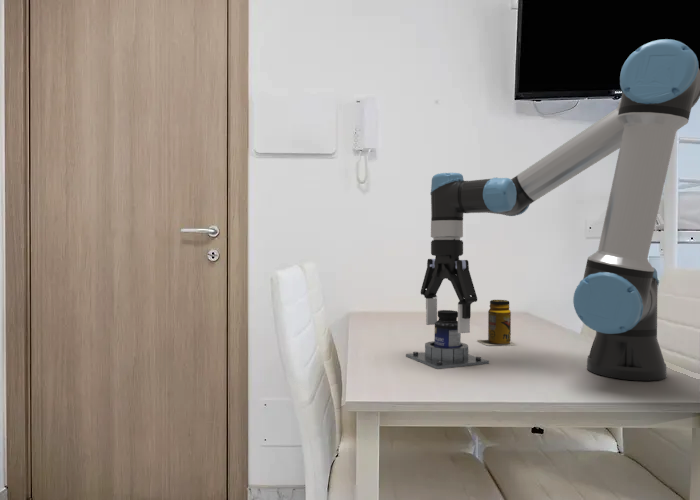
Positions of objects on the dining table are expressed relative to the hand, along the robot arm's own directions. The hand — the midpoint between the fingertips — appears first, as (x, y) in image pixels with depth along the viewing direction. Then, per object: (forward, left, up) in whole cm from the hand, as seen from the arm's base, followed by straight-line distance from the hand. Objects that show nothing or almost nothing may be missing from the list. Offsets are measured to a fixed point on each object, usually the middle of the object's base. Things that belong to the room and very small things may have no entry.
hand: (446, 328), depth 124 cm
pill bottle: (0, 0, -7) cm, 7 cm away
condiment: (+13, -25, -8) cm, 29 cm away
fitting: (0, 0, -8) cm, 8 cm away
